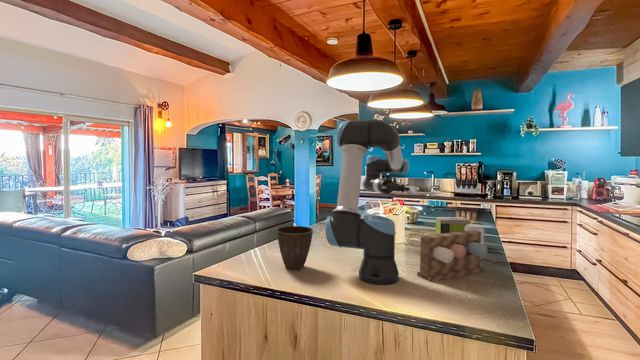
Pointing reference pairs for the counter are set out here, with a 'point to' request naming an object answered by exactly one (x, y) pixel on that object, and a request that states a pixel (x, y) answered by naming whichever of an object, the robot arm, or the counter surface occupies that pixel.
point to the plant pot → (294, 245)
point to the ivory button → (442, 254)
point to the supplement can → (476, 228)
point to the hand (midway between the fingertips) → (415, 189)
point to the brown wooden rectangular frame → (458, 266)
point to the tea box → (450, 224)
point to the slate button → (476, 249)
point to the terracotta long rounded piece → (458, 250)
